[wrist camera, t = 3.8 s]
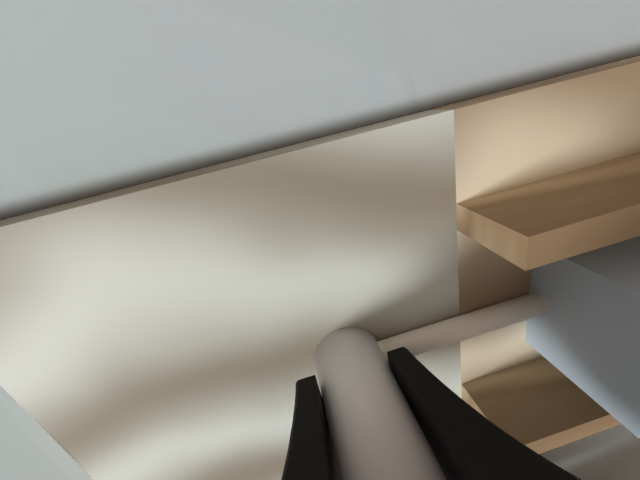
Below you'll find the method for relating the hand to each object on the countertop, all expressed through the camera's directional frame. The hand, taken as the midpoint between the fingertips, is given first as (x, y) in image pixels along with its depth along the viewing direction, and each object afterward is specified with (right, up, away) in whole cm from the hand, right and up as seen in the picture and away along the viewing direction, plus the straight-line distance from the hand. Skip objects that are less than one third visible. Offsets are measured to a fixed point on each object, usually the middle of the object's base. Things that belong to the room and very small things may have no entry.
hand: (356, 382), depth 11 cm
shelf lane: (+1, +2, +3) cm, 3 cm away
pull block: (+5, +2, +2) cm, 6 cm away
